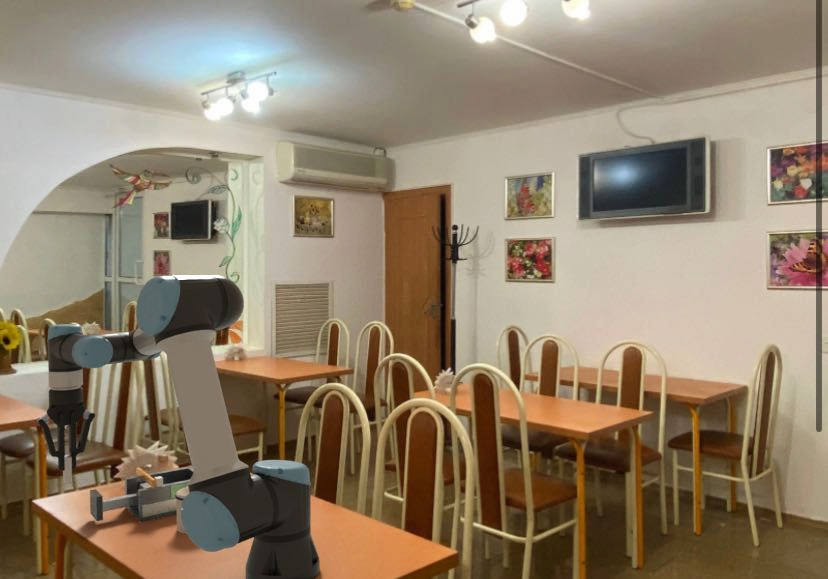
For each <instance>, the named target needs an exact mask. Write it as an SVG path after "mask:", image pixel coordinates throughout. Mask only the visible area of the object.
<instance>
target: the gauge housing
mask: <svg viewBox="0 0 828 579" xmlns="http://www.w3.org/2000/svg"><path fill="white" fill-rule="evenodd" d="M193 473H194V472H193V467H192V465H191V466H184V467H180V468H179V467H178V468H175V469H173V468H172V469H168V470H162V471H157V472H151V473H147V474H148V475H150V476H151V477H152V478H154V477H158V476H161V477H163V486H159V487H156V486H155V487H149V488H143V489H139V484H141V483H146V482H145V481H144V480H143V479H142V478H140V477H139V476H138V475H136V476H135V475H134V476H130V477H125V478H124V495H128V494H133V493H138V505H134V506H129V507H125V509H126V508H127V509H128V510H129V511H130V512H131V513H132V514H133V515H134V516H135V517H136V518H137V519H138V520H139V521H140V522H141V523H145V522H144V521H146V522H150V521H154V520H153V519H155V520H159V519H163V518H162V517H164V518H168V517H173V516H177V506H176V497H175V495H176V493H177V491H179V490H180V489H183V488H185V487H186V486H188V482H189V481H190V479H191V477H192V476H193ZM127 509H126V510H127ZM128 510H127V511H128ZM129 511H128V512H129ZM130 512H129V513H130ZM131 513H130V514H131ZM132 514H131V515H132ZM133 515H132V516H133ZM172 515H173V516H172ZM134 516H133V517H134ZM135 517H134V518H135ZM136 518H135V519H136ZM158 518H159V519H158ZM137 519H136V520H137ZM149 520H150V521H149ZM139 521H138V522H139ZM140 522H139V523H140Z"/></svg>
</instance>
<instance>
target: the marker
mask: <svg viewBox="0 0 828 579" xmlns="http://www.w3.org/2000/svg"><path fill="white" fill-rule="evenodd" d="M154 479H155V486H156V487H159V486H163V477H161V476H158V477H154Z"/></svg>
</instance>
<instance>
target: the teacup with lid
mask: <svg viewBox="0 0 828 579" xmlns="http://www.w3.org/2000/svg"><path fill="white" fill-rule="evenodd" d="M189 493H190V492H189V488H188V486H186V487H185V488H183V489H180V490H179V491H177V493H176V495H175V497H176V506H177V515H176V531H177V532H179V533H180V534H184V535H187V533H186V531H185V529H184V526H183V523H182V519H181V509H182V506H181V505H182V501H183V499H184V498H185V497H186V496H187V495H188V494H189Z"/></svg>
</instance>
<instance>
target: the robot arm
mask: <svg viewBox="0 0 828 579" xmlns="http://www.w3.org/2000/svg"><path fill="white" fill-rule="evenodd" d="M244 305H245V300H244V296H243V293H242V291H241V289H240V287H239V286H238V285H237V284H236V283H235V282H234V280H233V281H232V280H231V279H229V278H227V277H225V276H222V275H218V274H207V275H205V274H204V275H203V274H202V275H201V274H200V275H199V274H197V275H195V274H194V275H192V274H191V275H185V274H184V275H175V274H169V275H163V276H160V275H159V276H154V277H153V278H150V279H149V280H147V281H146V282H145V284H143V286H142V288H141V289H140V292H139V295H138V296H137V301H136V306H135V307H136V309H135V310H136V311H135V314H136V315H135V316H136V322H137V325H138V328H136V329H134V330H131V331H122V332H109V333H106V332H105V333H96V334H84V333H83V328H82V326H81V325H80V324H78V323H77V324H75V323H67V324H66V323H64V324H54V325H50V326H49V327H48V330H47V339H46V343H47V363H48V365H47V366H48V367H47V368H48V387H49V388H50V389H49V390H48V408H47V410H46V414H44V415H42V416H41V417H37V419H36V422H37V423H38V425H40V427H41V430H42V433H43V437H44V439H45V442H46V446H47V449H48V453H49V455H50V456H51V457H52V458H54V457H56V458H57V468H58V470H59V471H60V472H62V482H63V484H64V485H71V484H73V470H74V469H77V456H78V455H79V454H81V453H84V451H85V449H86V446H87V445H86V444H87V442H88V436H89V432H90V428H91V425H92V422H93V420H94V419H95V417H96V414H95V413H94V412H93V411H89V410H87V408H86V407H85V405H84V388H83V387H82V386H83V385H84V379H83V378H84V377H83V374H84V373H83V372H84V371H83V368H85V369H99V368H102V367H103V368H104V367H105V366H106V365H114V364H122V363H131V362H138V361H139V362H140V361H143V362H145V361H149V360H152V359H153V360H155V359H156V358H159V357H160V355H161V353H162V352H163V353H165V354H166V358H167V363H168V367H169V371H170V374H171V375H170V376H171V379H172V380H171V381H172V384H173V388H174V392H175V397H176V401H177V406H178V410H179V414H180V415H179V416H180V418H181V422H182V423H181V424H182V427H183V432H184V436H185V440H186V445H187V450H188V454H189V459H190V462H191V466H192V467H193V472H194V473H193V476H192V477H191V479H190V481H189V482H188V488H189V492H190V493H189V494H188V495H187V496H186V497H185V498H184V499H183V501H182V505H181V506H182V509H181V519H182V523H183V526H184V529H185V531H186V533H187V534H186V535H187V536H188V538H189V540H191V542H192V543H193V544H194V545H196V546H197V547H198V548H199V549H201V550H203V551H205V552H209V553H217V552H219V551H222V550H226V549H230V548H234V547H235V546H236V545H238V544H240V543H243V542H246V541H248V540H251V539H253V540H252V543H251V546H250V550H249V553H248V556H247V560H246V563H245V579H315V578H316V577H317V576H318V575H319V573H320V571H321V568H320V567H321V566H320V565H321V564H320V563H321V561H320V557H319V554H318V551H317V547H316V545H315V542H314V539H313V536H312V534H311V533H312V532H311V530H312V528H311V520H312V518H311V513H312V512H311V510H312V509H311V507H312V506H311V504H312V503H311V486H312V483H311V478H310V476H311V475H310V469H309V468H308V466H307V465H305V464H304V463H302V462H300V461H299V462H298V461H293V460H284V459H283V460H282V459H267V460H260V461H257V462H254V464H253V465H252V469H251V470H250V467H249V465H248V464H246V463H244V462H243V461H242V460H240V459H239V456H238V452H237V448H236V443H235V440H234V435H233V432H232V431H233V430H232V426H231V422H230V419H229V415H228V412H227V411H228V410H227V407H226V403H225V398H224V394H223V391H222V386H221V382H220V377H219V374H218V370H217V365H216V361H215V356H214V354H213V348H212V346H211V342H212V341H213V340H214V338H215V336H216V334H217V332H219V331H221V330H224V329H225V328H226V329H227V328H228V327H230V326H231V327H232V326H233V325H234V324H235V323H236V322H238V320H239V319H240V318H241V316H242V314H243V312H244V307H245V306H244ZM82 417H83V422H82V426H81V431H80V435H79V437H78V444H77V423H78V422H79V421H80V420H81V418H82ZM50 420H51V421H52V422H53V423H54V424H55V425H56V431H57V433H56V435H57V436H56V437H57V440H56V444H57V445H56V446H57V449H56V446H55V443H54V440H53V437H52V433H51V430H50V427H49V424H50ZM66 426H68V453H69V454H66V445H65V443H66V442H65V440H66V439H65V438H66V436H65V435H66V434H65V430H66ZM251 472H252V474H251Z"/></svg>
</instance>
